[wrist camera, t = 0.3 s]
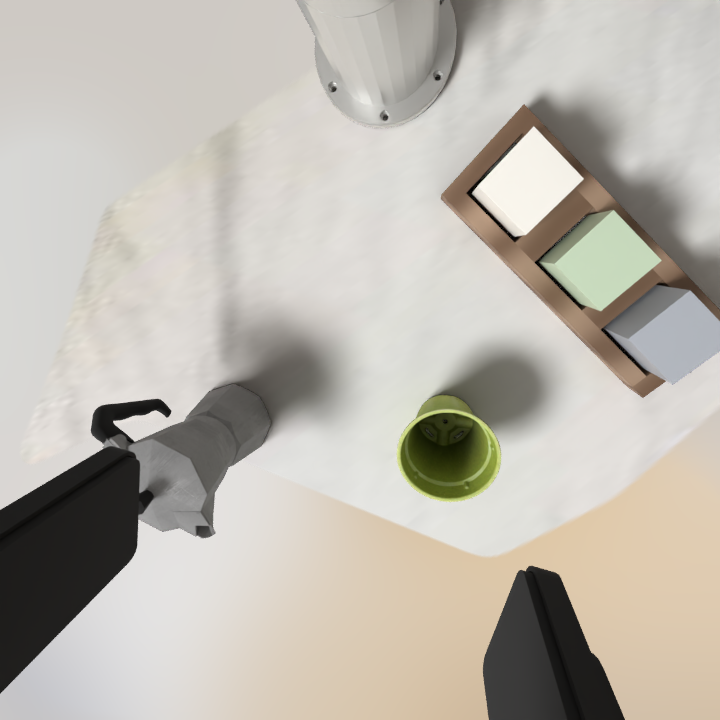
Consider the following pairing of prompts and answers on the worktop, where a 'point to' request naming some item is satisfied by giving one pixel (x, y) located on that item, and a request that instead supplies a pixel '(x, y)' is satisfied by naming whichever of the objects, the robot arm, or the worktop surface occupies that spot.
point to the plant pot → (448, 451)
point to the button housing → (549, 231)
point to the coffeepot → (187, 454)
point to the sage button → (599, 260)
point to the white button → (527, 184)
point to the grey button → (667, 332)
